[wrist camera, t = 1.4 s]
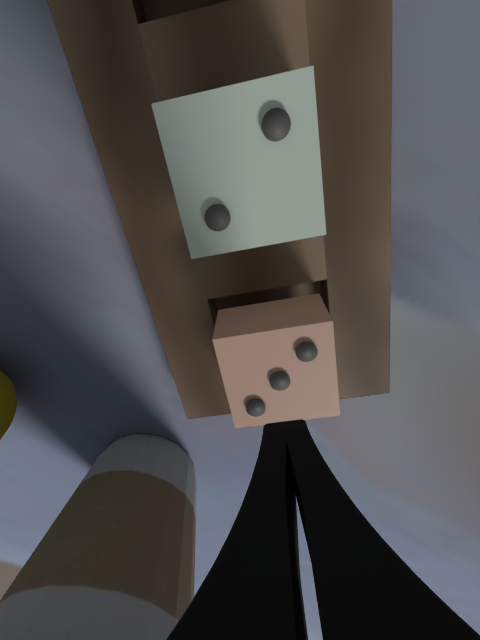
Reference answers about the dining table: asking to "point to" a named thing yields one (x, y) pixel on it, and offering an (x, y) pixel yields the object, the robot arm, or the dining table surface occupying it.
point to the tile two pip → (245, 163)
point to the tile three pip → (278, 361)
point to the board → (335, 151)
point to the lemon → (6, 403)
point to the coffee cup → (113, 552)
